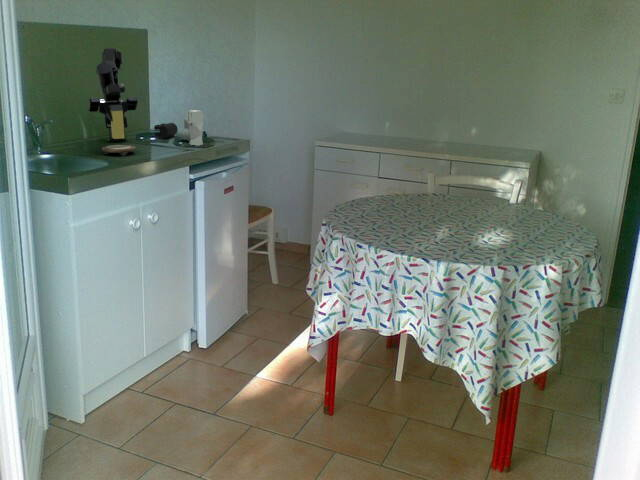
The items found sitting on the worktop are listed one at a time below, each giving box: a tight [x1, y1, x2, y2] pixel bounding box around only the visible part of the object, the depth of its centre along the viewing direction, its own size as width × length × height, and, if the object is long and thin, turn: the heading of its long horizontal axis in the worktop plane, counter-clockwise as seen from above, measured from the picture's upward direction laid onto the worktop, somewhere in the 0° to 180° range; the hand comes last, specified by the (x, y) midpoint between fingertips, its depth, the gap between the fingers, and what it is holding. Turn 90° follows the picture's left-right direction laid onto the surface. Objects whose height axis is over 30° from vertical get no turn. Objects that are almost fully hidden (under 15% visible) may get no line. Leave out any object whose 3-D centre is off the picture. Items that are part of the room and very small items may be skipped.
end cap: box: [153, 122, 178, 140], centre depth 302 cm, size 10×7×7 cm
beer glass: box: [186, 109, 204, 147], centre depth 283 cm, size 7×7×15 cm
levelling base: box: [101, 144, 136, 157], centre depth 260 cm, size 13×13×3 cm
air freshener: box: [178, 118, 204, 140], centre depth 295 cm, size 11×8×10 cm
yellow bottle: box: [110, 105, 126, 139], centre depth 256 cm, size 4×4×13 cm
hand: (117, 120), depth 255 cm, fingers closed on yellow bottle, 4 cm apart
